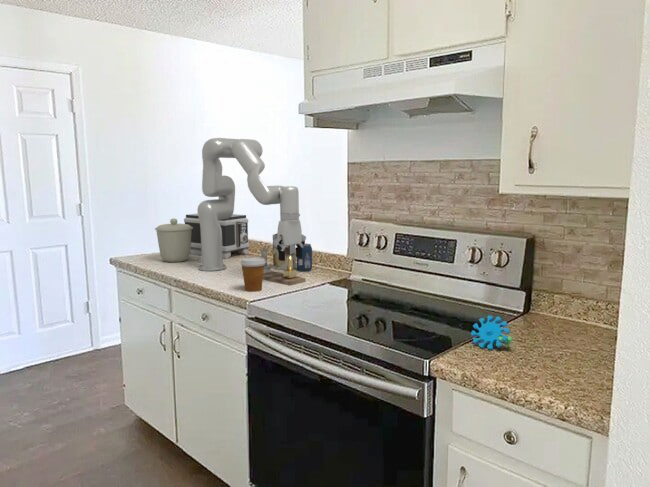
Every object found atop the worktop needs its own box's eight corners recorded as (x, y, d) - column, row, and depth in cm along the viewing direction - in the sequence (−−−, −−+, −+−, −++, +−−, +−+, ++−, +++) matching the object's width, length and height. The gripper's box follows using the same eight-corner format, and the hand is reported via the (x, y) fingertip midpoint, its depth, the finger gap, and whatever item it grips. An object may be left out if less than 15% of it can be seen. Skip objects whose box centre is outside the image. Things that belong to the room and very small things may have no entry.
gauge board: (251, 276, 219) (250, 248, 218) (266, 273, 226) (266, 246, 224) (289, 285, 203) (289, 255, 202) (305, 281, 210) (305, 252, 208)
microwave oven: (231, 260, 257) (230, 218, 253) (184, 253, 275) (182, 214, 272) (255, 254, 272) (254, 215, 269) (209, 249, 290) (207, 212, 287)
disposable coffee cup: (251, 294, 190) (251, 262, 188) (235, 289, 196) (235, 259, 194) (271, 289, 197) (270, 258, 195) (255, 285, 203) (254, 255, 201)
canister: (148, 262, 250) (146, 219, 247) (172, 256, 267) (170, 216, 264) (178, 265, 243) (176, 221, 240) (201, 258, 260) (200, 217, 257)
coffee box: (296, 267, 238) (296, 233, 235) (290, 270, 232) (290, 235, 229) (278, 266, 241) (278, 232, 239) (272, 269, 235) (272, 234, 233)
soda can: (302, 268, 237) (302, 242, 235) (314, 270, 233) (314, 244, 231) (293, 271, 231) (293, 244, 229) (306, 272, 227) (306, 246, 225)
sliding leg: (279, 277, 208) (278, 256, 207) (290, 275, 213) (290, 254, 211) (285, 279, 206) (284, 257, 204) (296, 276, 210) (296, 255, 209)
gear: (463, 338, 138) (482, 308, 141) (469, 348, 142) (488, 320, 144) (499, 354, 130) (519, 323, 133) (505, 365, 134) (524, 335, 136)
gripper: (298, 215, 215) (299, 255, 218) (267, 218, 202) (268, 260, 205) (311, 216, 210) (311, 257, 212) (280, 219, 197) (281, 262, 200)
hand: (290, 258), depth 209 cm, fingers open, 9 cm apart
